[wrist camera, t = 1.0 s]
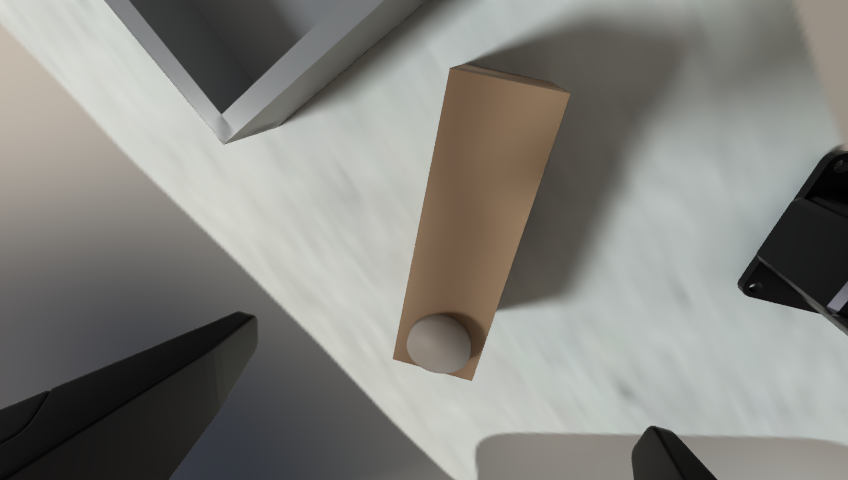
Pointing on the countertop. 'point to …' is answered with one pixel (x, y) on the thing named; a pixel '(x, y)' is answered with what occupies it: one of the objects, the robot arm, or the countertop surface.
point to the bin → (256, 51)
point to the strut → (474, 212)
